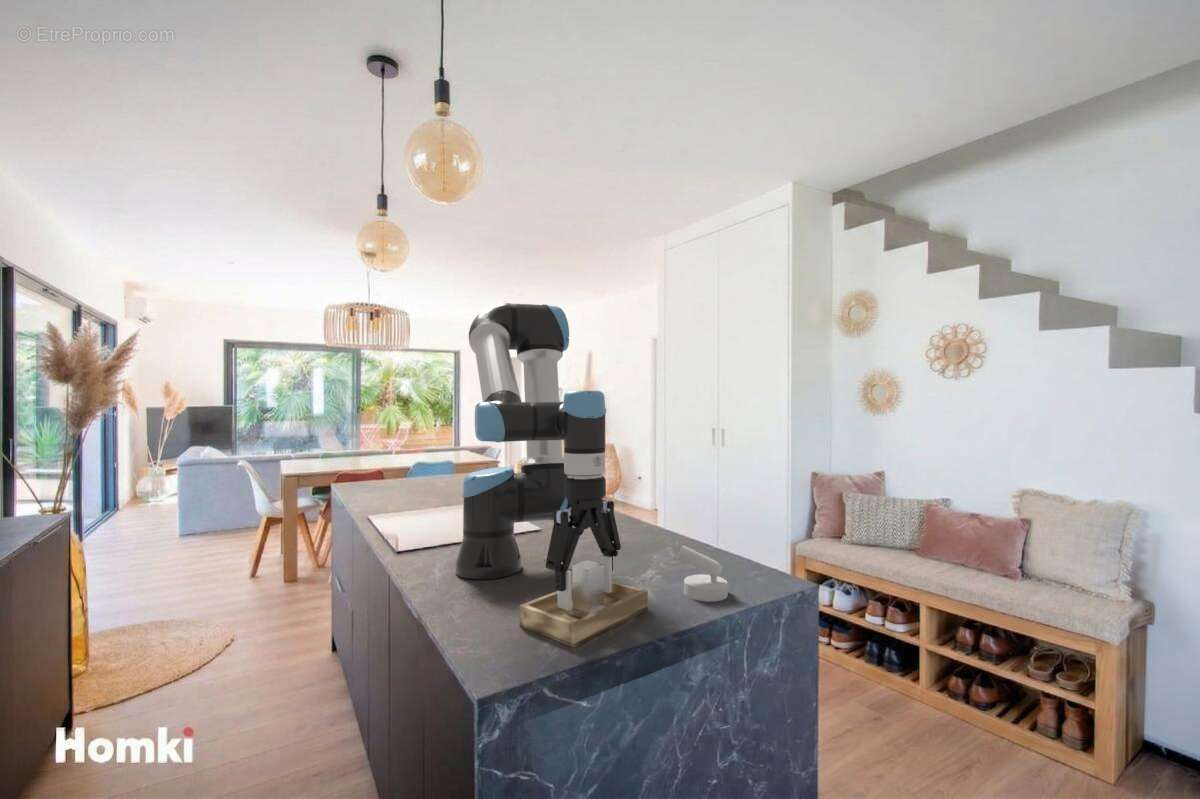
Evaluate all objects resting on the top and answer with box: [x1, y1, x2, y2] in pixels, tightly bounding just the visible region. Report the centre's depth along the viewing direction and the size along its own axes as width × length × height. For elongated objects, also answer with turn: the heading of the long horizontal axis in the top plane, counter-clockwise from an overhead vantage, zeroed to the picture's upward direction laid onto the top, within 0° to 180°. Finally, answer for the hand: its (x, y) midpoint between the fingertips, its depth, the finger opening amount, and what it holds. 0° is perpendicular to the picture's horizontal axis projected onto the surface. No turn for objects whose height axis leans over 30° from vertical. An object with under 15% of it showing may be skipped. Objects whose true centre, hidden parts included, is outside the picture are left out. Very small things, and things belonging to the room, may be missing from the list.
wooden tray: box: [518, 580, 649, 649], centre depth 95 cm, size 13×20×4 cm, turn 139°
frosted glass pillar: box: [565, 559, 605, 619], centre depth 94 cm, size 8×4×9 cm, turn 49°
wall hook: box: [676, 544, 729, 603], centre depth 106 cm, size 9×10×10 cm
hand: (585, 599), depth 95 cm, fingers open, 10 cm apart
